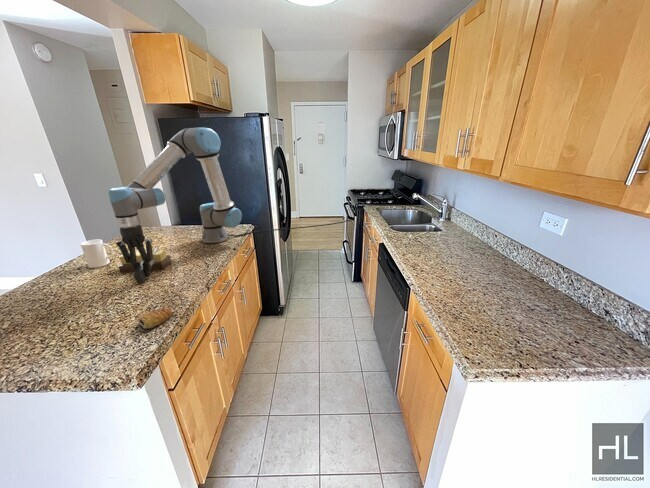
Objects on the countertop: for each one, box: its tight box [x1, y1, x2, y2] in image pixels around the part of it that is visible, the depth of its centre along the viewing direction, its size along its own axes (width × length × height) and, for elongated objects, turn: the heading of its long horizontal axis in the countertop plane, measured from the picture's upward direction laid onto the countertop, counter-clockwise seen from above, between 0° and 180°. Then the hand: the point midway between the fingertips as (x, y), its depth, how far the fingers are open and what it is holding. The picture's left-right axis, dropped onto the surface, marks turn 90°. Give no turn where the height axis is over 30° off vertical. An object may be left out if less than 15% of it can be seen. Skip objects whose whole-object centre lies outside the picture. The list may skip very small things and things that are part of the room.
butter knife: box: [132, 246, 160, 284], centre depth 120 cm, size 2×23×5 cm, turn 10°
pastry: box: [138, 308, 173, 330], centre depth 88 cm, size 9×7×4 cm
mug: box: [80, 238, 114, 269], centre depth 128 cm, size 12×8×12 cm
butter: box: [119, 250, 147, 264], centre depth 126 cm, size 10×6×4 cm, turn 99°
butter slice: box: [153, 249, 167, 262], centre depth 128 cm, size 3×6×4 cm, turn 9°
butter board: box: [117, 254, 172, 273], centre depth 128 cm, size 19×10×3 cm, turn 99°
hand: (144, 275), depth 116 cm, fingers closed on butter knife, 2 cm apart
